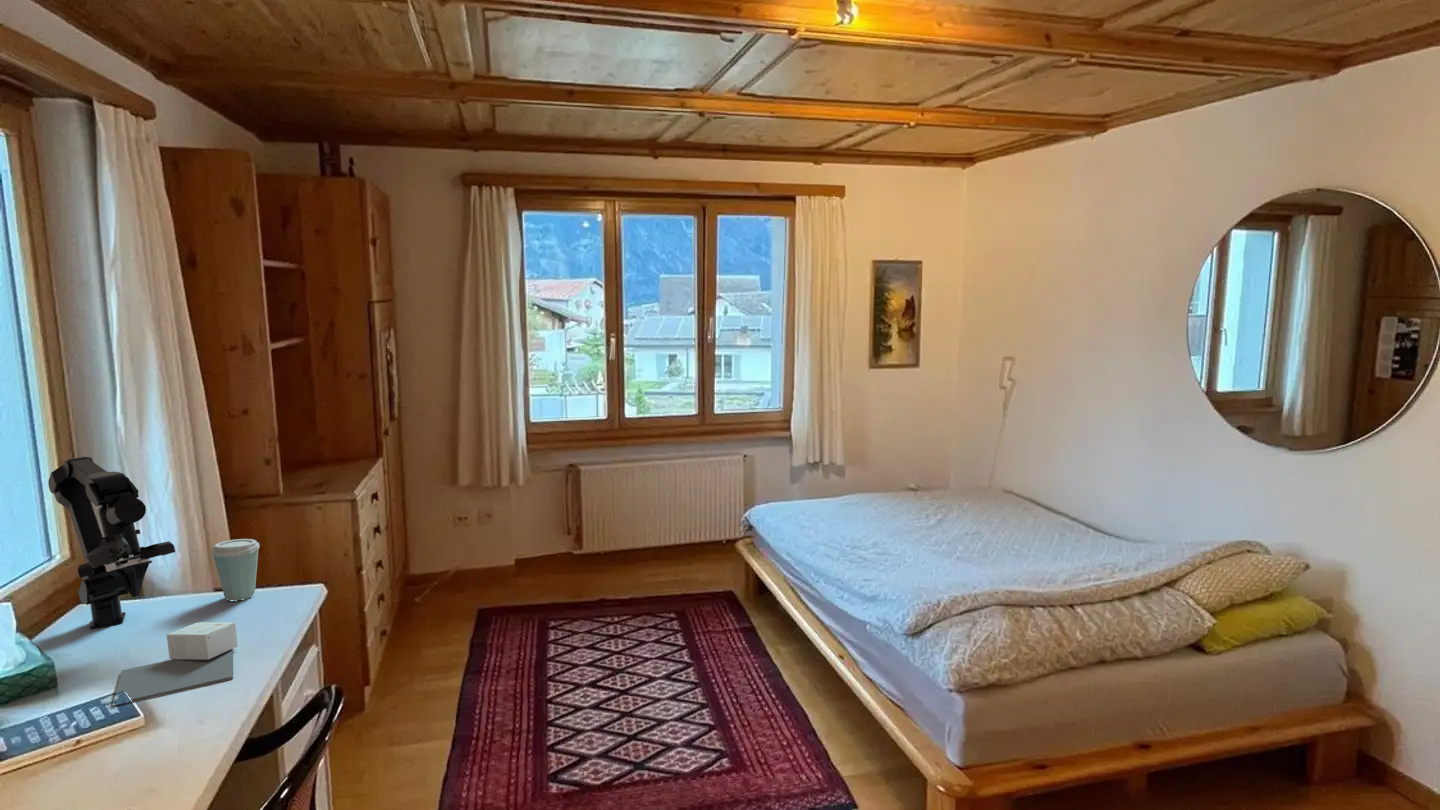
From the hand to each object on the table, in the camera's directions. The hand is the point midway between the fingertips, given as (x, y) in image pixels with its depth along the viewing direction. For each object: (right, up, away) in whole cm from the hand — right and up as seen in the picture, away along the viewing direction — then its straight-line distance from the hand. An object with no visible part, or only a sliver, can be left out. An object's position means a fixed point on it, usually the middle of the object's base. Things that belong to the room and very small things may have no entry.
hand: (136, 596), depth 182 cm
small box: (+13, -9, -4) cm, 16 cm away
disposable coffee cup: (+7, -7, +28) cm, 30 cm away
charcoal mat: (+19, -13, -14) cm, 27 cm away
